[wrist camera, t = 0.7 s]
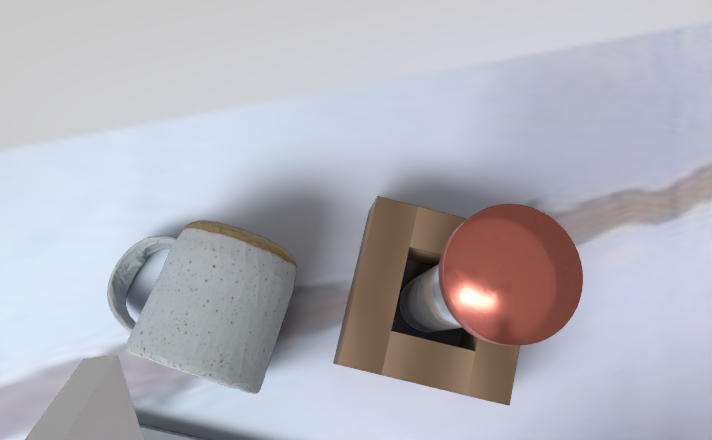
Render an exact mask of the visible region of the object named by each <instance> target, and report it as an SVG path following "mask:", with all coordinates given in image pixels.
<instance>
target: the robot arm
mask: <svg viewBox="0 0 712 440" xmlns="http://www.w3.org/2000/svg"><path fill="white" fill-rule="evenodd" d="M25 440H144V439H143V435H142V432H141V429H140V426H139V423H138V419H137V416H136V413H135V410H134V406H133V403H132V400H131V397H130V393H129V390H128V387H127V384H126V381H125V377H124V374H123V371H122V368H121V364H120V361H119V358H118V355H111V356H103V357H95V358H87V359H83V361H82V362H81V364H80V365H79V366H78V368H77V369H76V370H75V372H74V373H73V375H72V376H71V377H70V379H69V380H68V381H67V383H66V384H65V385H64V387H63V388H62V390H61V391H60V392H59V394H58V395H57V396H56V398H55V399H54V401H53V402H52V403H51V405H50V406H49V407H48V409H47V410H46V411H45V413H44V414H43V416H42V417H41V418H40V420H39V421H38V422H37V424H36V425H35V426H34V428H33V429H32V431H31V432H30V433H29V435H28V436H27V437H26V439H25Z"/></svg>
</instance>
